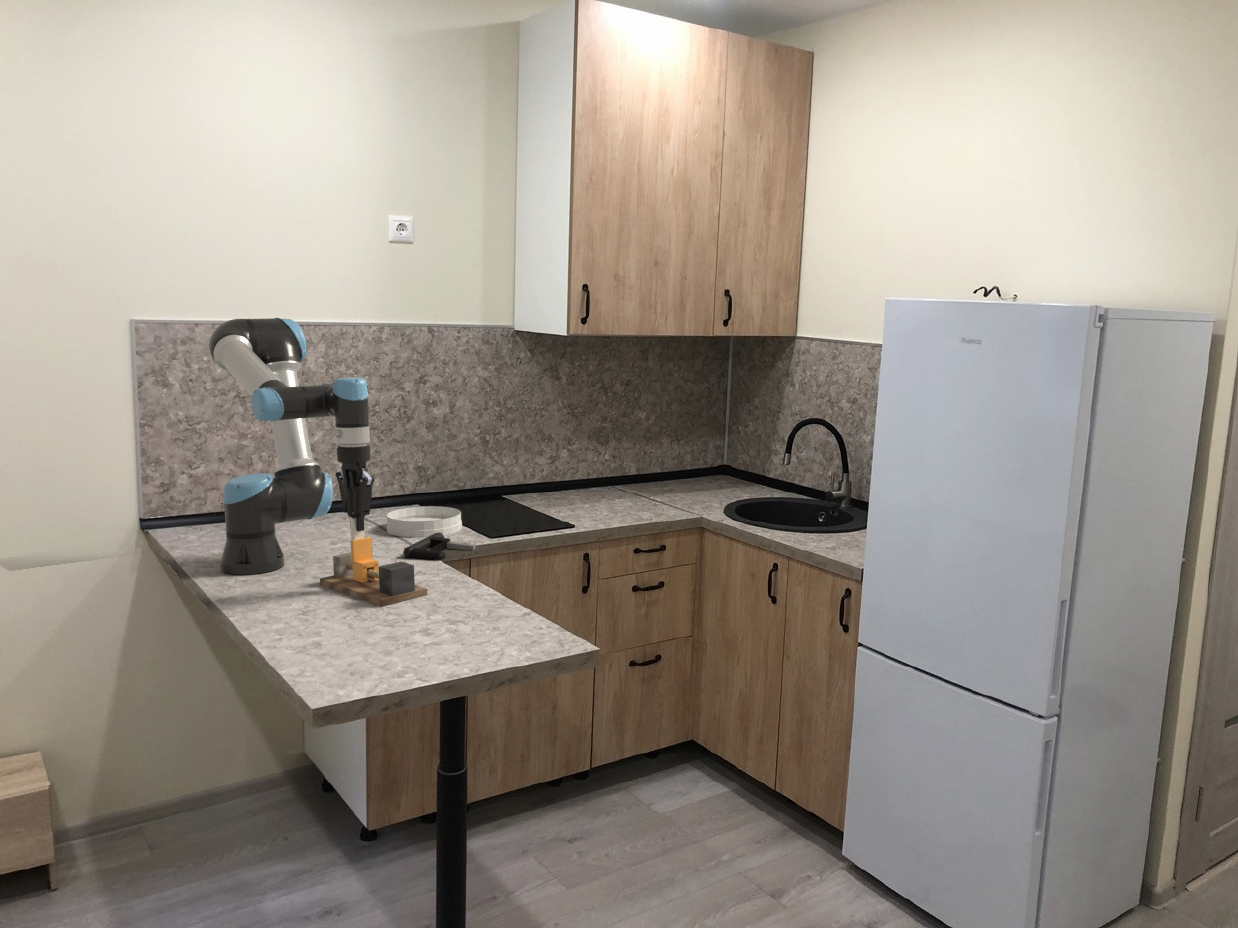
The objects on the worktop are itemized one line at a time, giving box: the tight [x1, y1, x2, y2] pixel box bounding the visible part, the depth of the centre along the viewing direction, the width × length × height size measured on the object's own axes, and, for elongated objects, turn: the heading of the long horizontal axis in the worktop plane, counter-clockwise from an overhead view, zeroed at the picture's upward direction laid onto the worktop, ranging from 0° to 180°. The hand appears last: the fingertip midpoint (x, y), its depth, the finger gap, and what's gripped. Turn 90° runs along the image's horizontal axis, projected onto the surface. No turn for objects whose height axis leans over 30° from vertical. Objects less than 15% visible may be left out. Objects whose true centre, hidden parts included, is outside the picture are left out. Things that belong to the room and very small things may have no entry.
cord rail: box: [319, 551, 428, 607], centre depth 228 cm, size 26×12×8 cm, turn 47°
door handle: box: [402, 532, 477, 561], centre depth 265 cm, size 3×20×16 cm
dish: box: [385, 505, 463, 538], centre depth 292 cm, size 22×22×5 cm
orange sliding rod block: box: [350, 536, 380, 583], centre depth 229 cm, size 4×5×10 cm
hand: (358, 543), depth 230 cm, fingers closed
